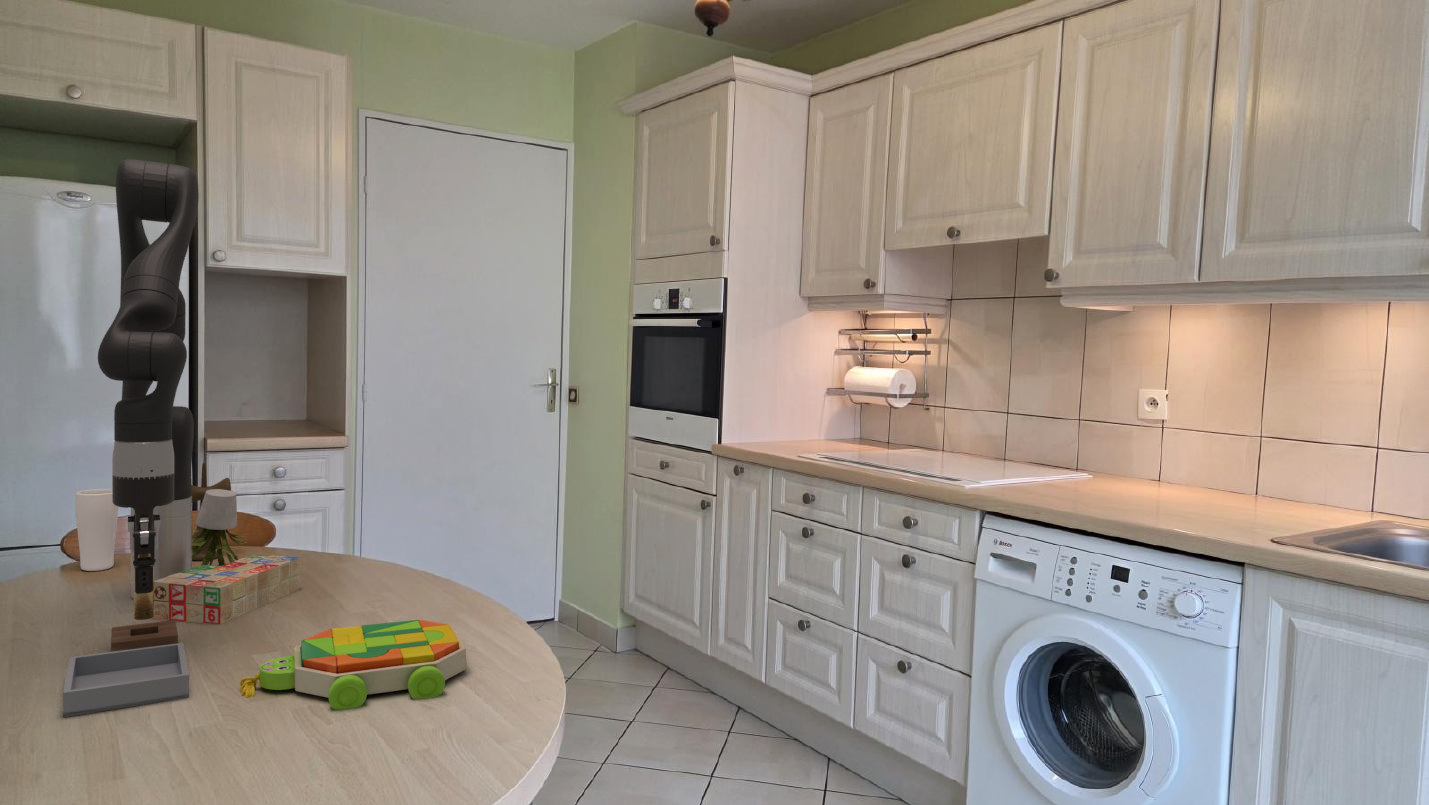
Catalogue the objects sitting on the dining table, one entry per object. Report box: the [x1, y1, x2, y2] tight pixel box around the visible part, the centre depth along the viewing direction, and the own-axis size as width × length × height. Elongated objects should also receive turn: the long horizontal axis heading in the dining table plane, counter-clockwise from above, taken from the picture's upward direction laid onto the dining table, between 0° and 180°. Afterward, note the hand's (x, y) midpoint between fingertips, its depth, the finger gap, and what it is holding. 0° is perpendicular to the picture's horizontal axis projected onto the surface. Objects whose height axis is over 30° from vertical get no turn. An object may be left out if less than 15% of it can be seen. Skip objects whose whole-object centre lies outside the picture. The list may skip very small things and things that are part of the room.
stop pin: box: [133, 553, 154, 621], centre depth 131 cm, size 2×2×12 cm
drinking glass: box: [75, 488, 119, 572], centre depth 175 cm, size 7×7×15 cm
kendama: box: [192, 461, 232, 562], centre depth 184 cm, size 6×10×20 cm, turn 123°
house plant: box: [192, 489, 248, 566], centre depth 174 cm, size 14×14×16 cm
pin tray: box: [62, 642, 190, 718], centre depth 118 cm, size 14×13×3 cm
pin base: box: [110, 620, 179, 652], centre depth 131 cm, size 8×8×3 cm
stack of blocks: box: [152, 554, 301, 625], centre depth 155 cm, size 21×6×12 cm
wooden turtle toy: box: [239, 619, 467, 711], centre depth 123 cm, size 22×28×6 cm
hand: (144, 589), depth 131 cm, fingers closed on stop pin, 2 cm apart
